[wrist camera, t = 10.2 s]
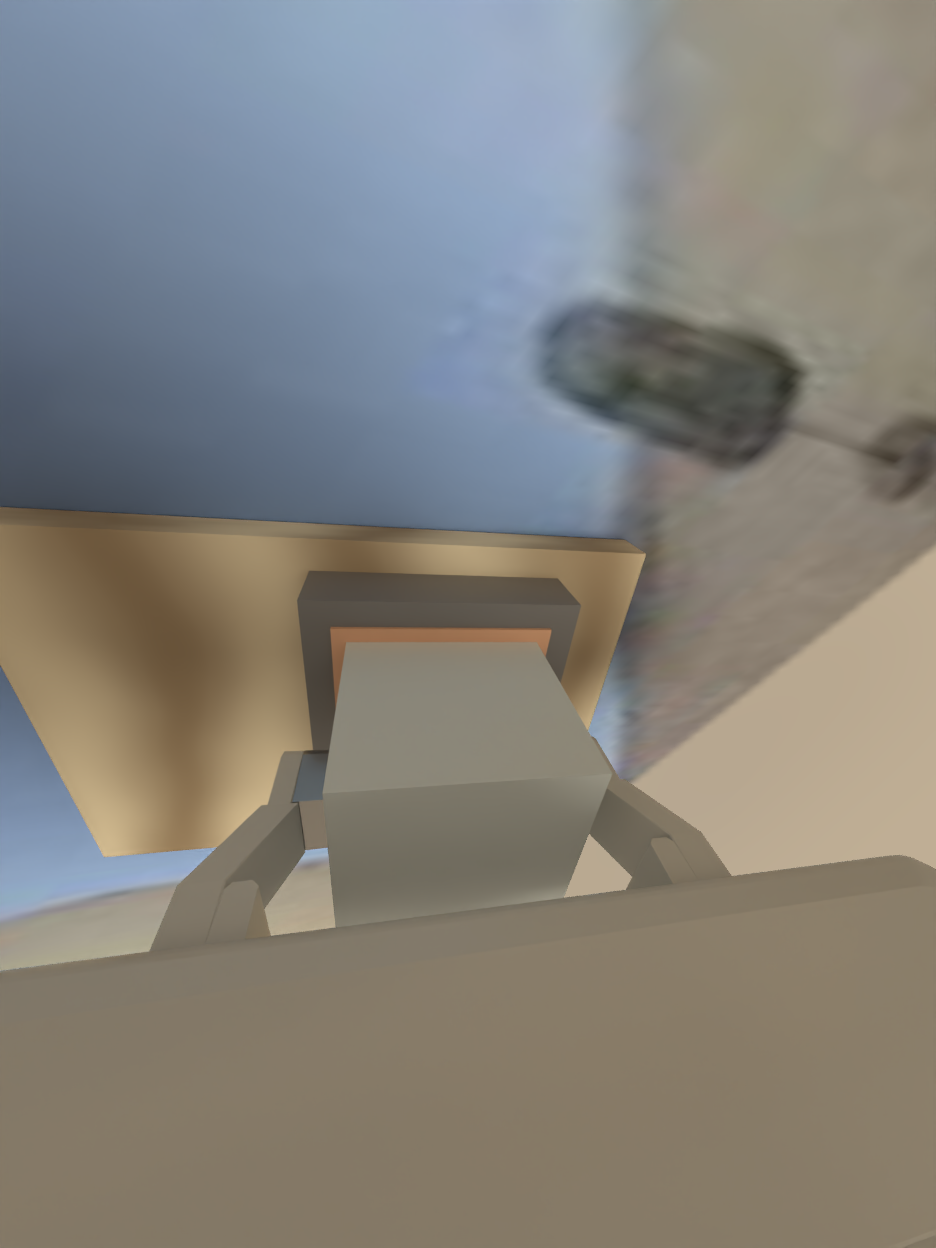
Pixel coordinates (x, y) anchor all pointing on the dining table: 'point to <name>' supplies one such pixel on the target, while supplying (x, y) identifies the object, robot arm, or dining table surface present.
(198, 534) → the board
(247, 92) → the dining table surface
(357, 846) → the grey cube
